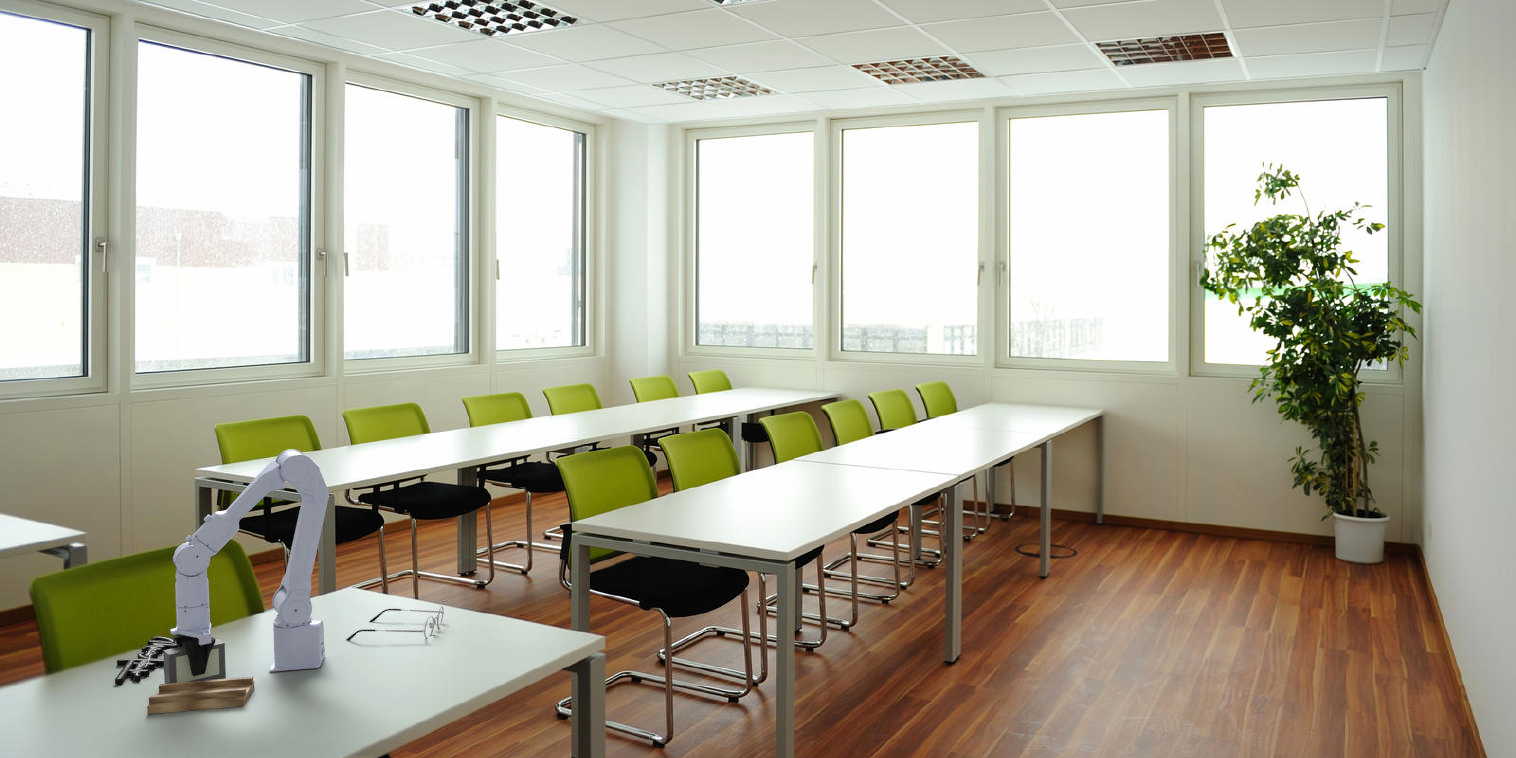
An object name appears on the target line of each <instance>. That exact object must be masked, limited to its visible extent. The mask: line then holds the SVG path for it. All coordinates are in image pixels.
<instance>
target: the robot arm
mask: <svg viewBox="0 0 1516 758" xmlns="http://www.w3.org/2000/svg"><path fill="white" fill-rule="evenodd" d="M285 483H287V484H289V485H291V486H292V487H293V488H294V489H295V490H296V492H297V493H298V494H299V495H300V496H301V503H300V509H299V512H298V518H297V521H296V525H295V531H294V535H293V540H292V544H291V549H290V553H289V558H288V562H287V567H286V571H285V574H284V575H283V577H282V579H281V583H280V586H279V588H278V589H277V590H276V591H275V592H274V593H273V597H272V601H271V602H272V604H271V605H272V607H273V610H274V611H275V612H276V613H277V614H276V617H275V618H274V620H273V622H272V624H273V625H272V626H273V628H272V629H273V657H274V658H273V659H274V660H273V663H272V664H271V665H270V667H269V671H268V672H271V673H273V672H282V671H283V672H285V671H295V670H296V671H297V670H309V669H319V668H320V667H321V665H322V664H323V661H324V658H325V656H326V652H325V651H326V650H325V649H326V648H325V629H324V627H325V626H324V622H323V620H321V619H318V620H316V619H312V616H311V615H312V612H313V604H312V601H311V594H312V574H313V571H314V566H315V562H316V557H317V552H318V549H319V543H320V539H321V534H322V530H323V525H324V521H325V517H326V512H327V506H328V503H329V498H330V491H329V489H328V486H327V484H326V482H325V480H324V477H323V474H322V472H321V469H320V467H319V465H318V464H316V463H315V462H314V461H313V460H312V459H311V458H310V457H309V456H307V455H305V453H303V452H302V451H300V450H298V449H293V448H292V449H291V448H290V449H287V450H284V451H282V452H281V453H279V454H278V455H277V457H276V458H275V460H271V461H270V462H269V463H268V464H266V466H265V467H264V468H263V469H262V470H261V471H260V472H259V473H258V474H257V475H256V476H255V478H254V479H253V480H252V481H251V482H250V483H249V484H248V485H247V486H246V488H245V489H244V490H242V492H241V493H240V494H239V496H237V498H235V500H234V501H233V502H232V503H231V504H230V505H229V506H228V508H226V509H225V510H220V511H215V512H213V513H212V515H210V514H207V515H206V516H205V517H204V518H203V521H204V523H203V524H201V526H200V527H199V528H198V529H197V530H196V531H195V532H194V533H193V534H192V535H189V534H188V536H186V538H185V541H186V542H184V543H183V542H182V544H180V545H179V546H178V547H177V548H176V549H175V550H174V554H173V556H172V561H173V563H174V565H175V567H176V569H175V571H176V572H175V580H176V581H175V583H174V585H175V586H174V587H175V613H176V627H175V628H174V627H173V628H170V630H169V632H170V634H171V635H172V639H174V640H175V643H176V644H177V645H178V647H182V646H183V647H184V648H185V650H186V652H187V655H188V658H189V663H190V669H191V672H192V675H193V676H197V675H202V674H205V671H206V667H207V662H208V658H209V655H210V652H211V649H212V647H213V646H214V644H215V641H216V638H215V637H213V636H212V632H211V630H212V623H211V615H210V614H211V611H210V587H209V578H208V570H207V569H208V568H209V567H210V564H211V558H212V557H213V556H215V555H216V554H218V553H219V552H220V550H221V549H222V548H224V546H226V544H227V543H228V542H229V541H230V540H231V539H232V538H233V537H234V536H235V535H236V534H237V533H238V532H239V531H240V520H242V519H243V518H244V516H245V515H247V514H248V513H249V512H250V511H251V510H252V509H253V508H254V507H255V506H257V504H258V503H259V502H260V501H261V500H263V498H265V497H266V496H267V494H269V493H270V492H273V491H277V490H282V489H286V488H287V487H286V484H285Z"/></svg>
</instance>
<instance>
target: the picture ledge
mask: <svg viewBox="0 0 1516 758" xmlns="http://www.w3.org/2000/svg"><path fill="white" fill-rule="evenodd" d="M254 690H255V680H254V676H244V677H231V678H221V679H217V680H205V681H192V682H180V683H168V684H165V683H160V684H159V685H158V692H157V694H154V695H150V696H149V697H148V705H147V707H146V709H147V711H146V713H147V715H153V714H165V713H178V712H188V711H189V712H191V711H199V710H200V711H201V710H210V709H211V710H212V709H222V708H223V709H224V708H234V707H235V708H236V707H244V706H245V705H246V704H247V701H248V700H249V698H250V697H251V695H252V693H253V692H254Z"/></svg>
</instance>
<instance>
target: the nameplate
mask: <svg viewBox="0 0 1516 758" xmlns="http://www.w3.org/2000/svg"><path fill="white" fill-rule="evenodd" d="M177 647H178V645H177V644H176V642H175V640H174V639H173V637H172V638H171V637H168V636H162V635H159V636H156V635H155V636H153V637H151V639H150V640H147V645H145V646H142V647H141V649H140V651H141V652H139V653H138V654H137V656H136V657H137V658H122V659H117V660H116V667H123V668H121V670H120V672H119V673H118V674H117V676H116V677H115V678H114V682H115V686H122V685H123V684H124V683H125V682H126V680H127V679H128V678H129V677H128V676H131V677H130V679H131V678H132V679H131V680H133V681H134V682H135V683H137V682H138V683H139V682H141V677H142V678H147V677H150V676H151V675H150V671H154V670H153V669H155V670H156V669H157V667H159V668H160V667H161V668H162V667H163V668H164V658H163V659H162V658H159V656H160V655H159V654H161V655H163V654H162V653H163V650H168V649H173V648H177ZM146 651H147V652H146ZM149 675H150V676H149ZM146 676H147V677H146Z"/></svg>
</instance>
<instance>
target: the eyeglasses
mask: <svg viewBox="0 0 1516 758" xmlns="http://www.w3.org/2000/svg"><path fill="white" fill-rule="evenodd" d="M389 611H393V612H394V611H395V612H396V611H399V612H400V611H408V612H418V613H420V612H421V613H422V612H423V613H436V614H437V613H438V614H437V615H436V617H433V616H429V617H427V619H426V621H425V625H424V629H420V630H418V629H417V630H416V629H415V630H413V629H411V630H410V629H408V630H407V629H405V630H404V629H391V630H390V629H386V630H380V629H379V630H378V629H359V630H357V631H355V632H354V633H353V634H351V635H349V637H348V638H345V640H346V641H351V640H352V639H353V638H354V637H355V636H356V635H357V634H358V633H360V632H387V633H388V632H390V633H391V632H395V633H397V632H398V633H423V636H424V639H428V637H431V636H432V634H433V632H434V630H435V625H436V628H437V629H439V628H440V626H442V623H443V619H444V614H445V611H444V606H443V605H441V606H440V608H439V609H438V610H424V609H423V610H421V609H420V610H419V609H402V608H387V609H384V610H382V611H381V612H380V613H378V614H377V615H375V616H374V617H373V618H372V619H370V620H369V621H368V623H373V622H372V621H374V622H375V621H376V620H377V619H378V618H379V617H380V616H381V615H382V614H383V613H385V612H389ZM440 614H441V619H440ZM430 618H432V622H431V621H430V622H429V620H430ZM439 619H440V620H439ZM439 621H440V622H439ZM428 622H429V626H428V627H429V629H431V631H430V634H429V635H428V637H427V635H426V630H427V629H426V628H427V625H428ZM439 623H440V624H439Z"/></svg>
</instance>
